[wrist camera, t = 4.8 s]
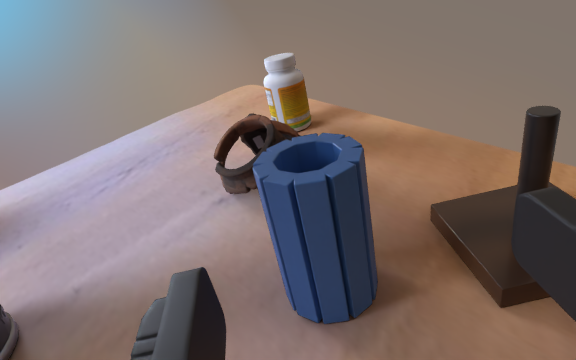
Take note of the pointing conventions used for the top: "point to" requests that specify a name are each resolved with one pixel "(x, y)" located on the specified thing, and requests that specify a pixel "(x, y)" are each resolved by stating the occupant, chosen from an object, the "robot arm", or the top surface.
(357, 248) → the fluted pencil holder
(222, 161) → the brown curved piece
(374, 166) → the top surface
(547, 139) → the stand
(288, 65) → the supplement bottle
